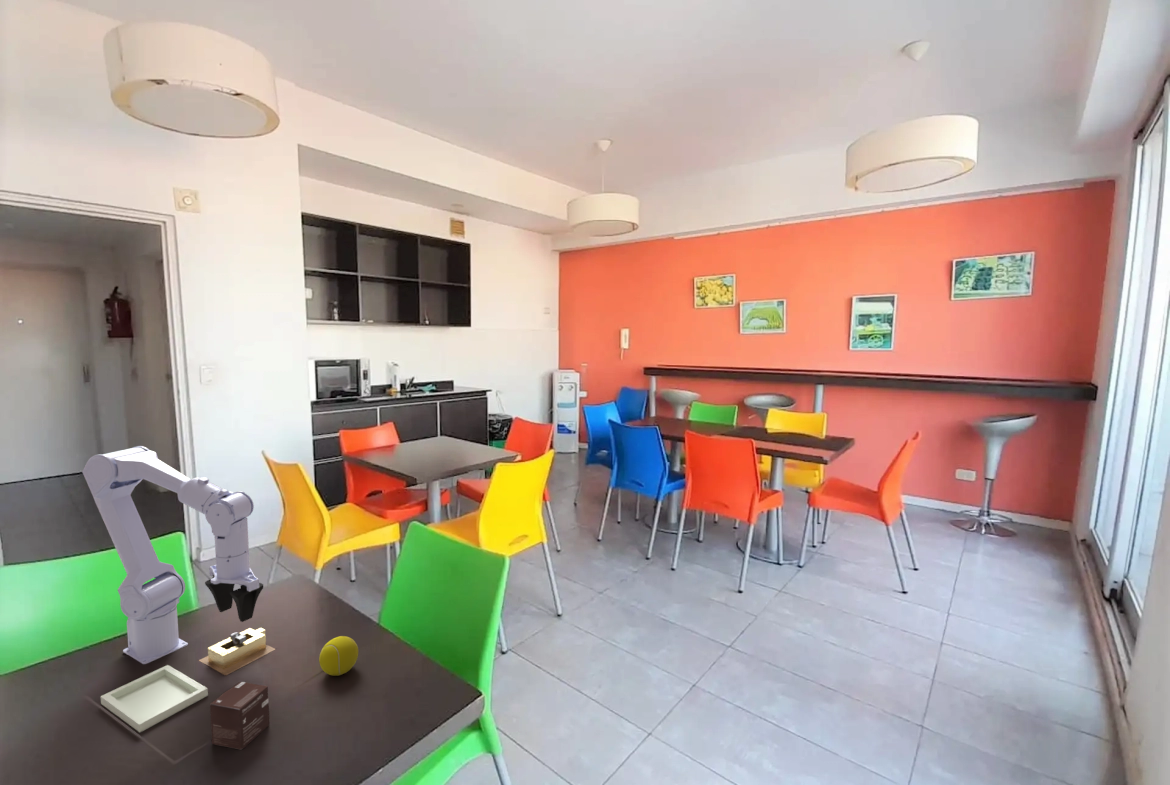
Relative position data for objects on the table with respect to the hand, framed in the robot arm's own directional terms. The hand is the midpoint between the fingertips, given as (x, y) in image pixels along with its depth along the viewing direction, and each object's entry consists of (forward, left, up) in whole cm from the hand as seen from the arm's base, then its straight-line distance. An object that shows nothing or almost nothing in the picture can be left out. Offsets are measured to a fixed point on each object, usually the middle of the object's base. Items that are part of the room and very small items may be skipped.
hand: (235, 614), depth 108 cm
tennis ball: (+23, +7, -10) cm, 26 cm away
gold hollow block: (0, 0, -9) cm, 9 cm away
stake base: (0, 0, -9) cm, 9 cm away
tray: (+1, -15, -9) cm, 18 cm away
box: (+23, -12, -10) cm, 28 cm away
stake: (0, 0, -9) cm, 9 cm away
